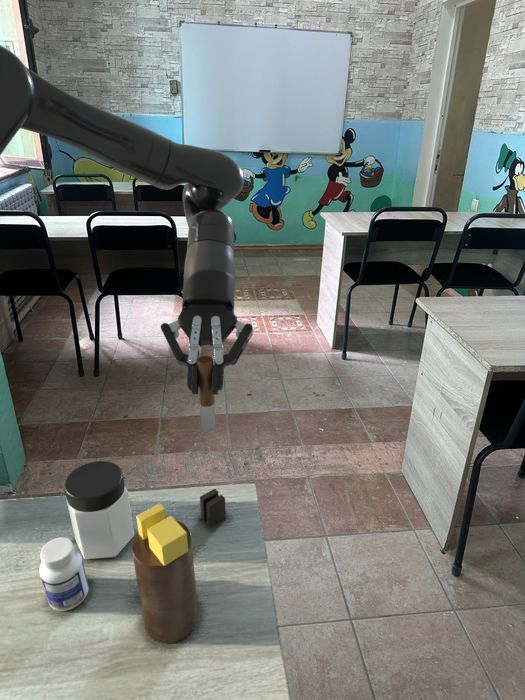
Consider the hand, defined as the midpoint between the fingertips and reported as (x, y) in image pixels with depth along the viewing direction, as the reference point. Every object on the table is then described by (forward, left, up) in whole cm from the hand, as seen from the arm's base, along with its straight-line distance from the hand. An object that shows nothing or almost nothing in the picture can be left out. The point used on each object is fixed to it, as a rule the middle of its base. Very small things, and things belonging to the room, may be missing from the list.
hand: (205, 392), depth 66 cm
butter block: (+11, -13, -11) cm, 20 cm away
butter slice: (+7, -13, -11) cm, 18 cm away
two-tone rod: (-2, +1, -8) cm, 8 cm away
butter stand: (+9, -13, -25) cm, 30 cm away
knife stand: (-2, +1, -25) cm, 25 cm away
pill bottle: (-3, -22, -26) cm, 34 cm away
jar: (-9, -14, -25) cm, 30 cm away
